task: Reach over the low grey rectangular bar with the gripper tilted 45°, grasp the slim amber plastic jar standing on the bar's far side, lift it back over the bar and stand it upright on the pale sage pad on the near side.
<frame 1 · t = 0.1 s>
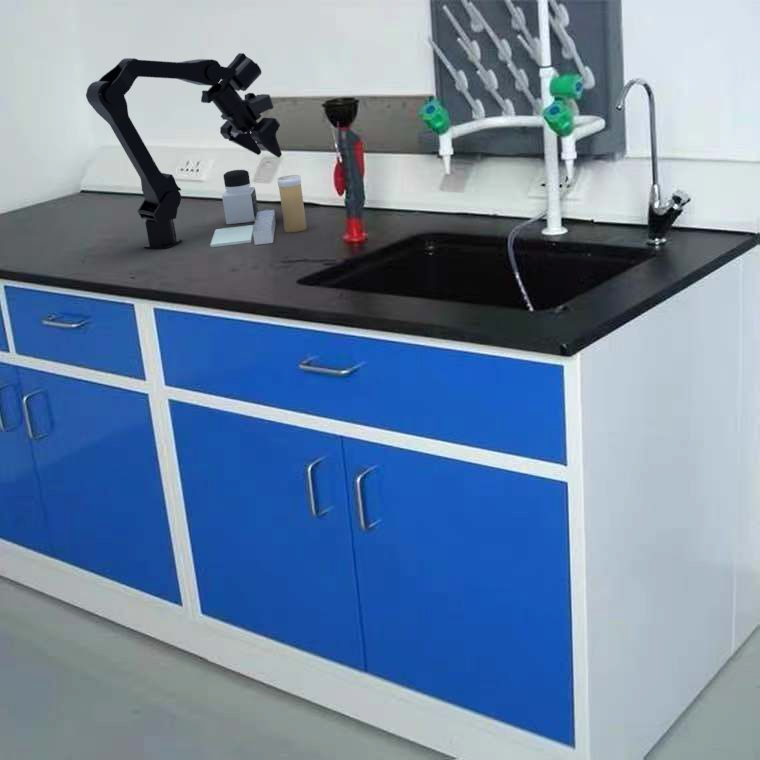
hand: (269, 154, 300), 15 cm above the countertop, tool tilted 35°, fingers open, 9 cm apart
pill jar: (295, 229, 289), on the countertop
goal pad: (233, 237, 289), on the countertop
medicine bottle: (242, 221, 306), on the countertop
grey rectangular bar: (265, 233, 289), on the countertop
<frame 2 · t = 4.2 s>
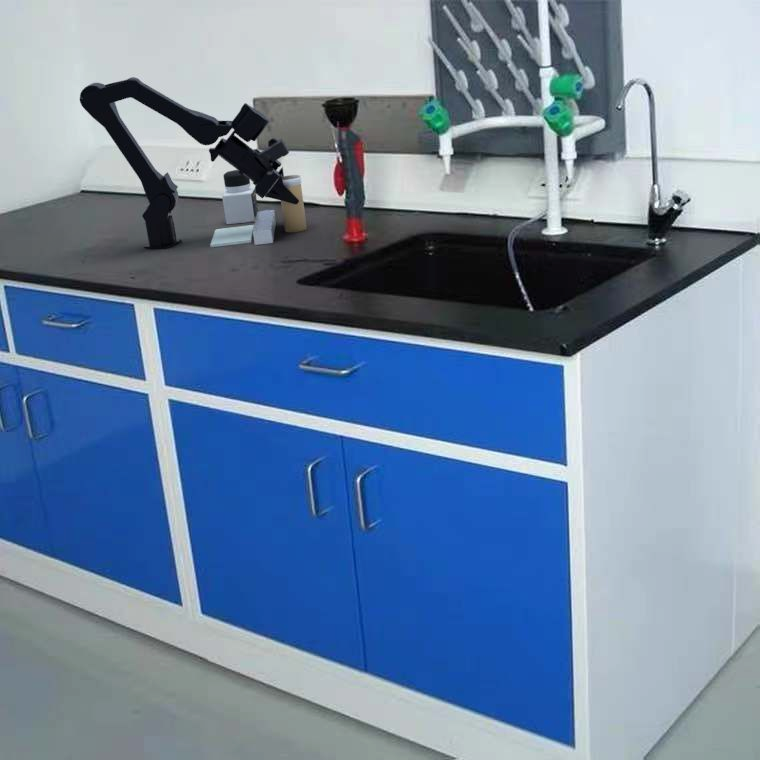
hand: (298, 200, 287), 7 cm above the countertop, tool tilted 45°, fingers closed on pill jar, 5 cm apart
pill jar: (295, 229, 289), on the countertop, touching gripper
everything else where it was.
when the fingers open (9 cm above the countertop, at t = 8.5 s): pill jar drops 1 cm, resting on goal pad.
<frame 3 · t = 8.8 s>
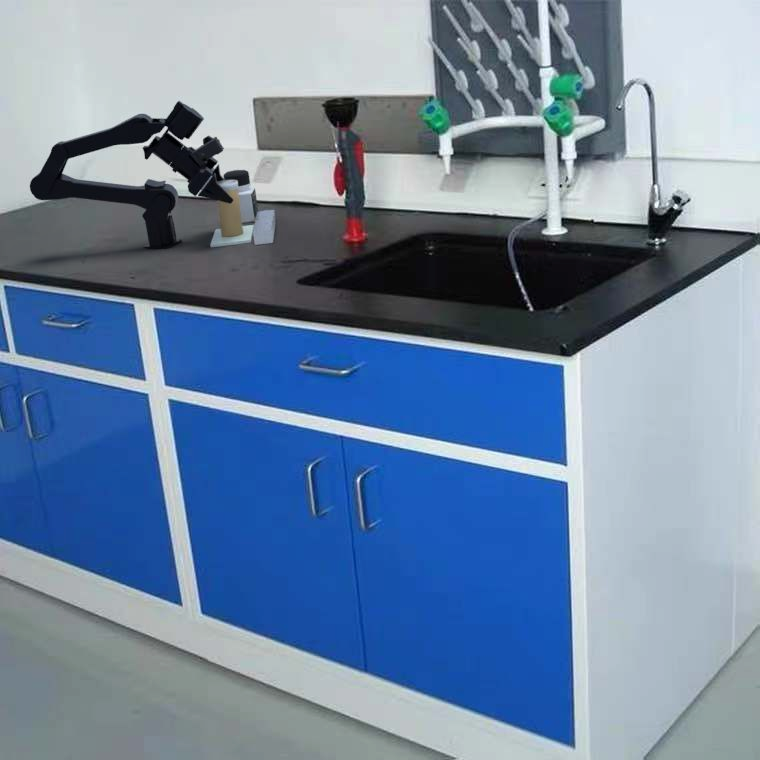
hand: (233, 198, 286), 9 cm above the countertop, tool tilted 45°, fingers open, 8 cm apart
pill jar: (232, 234, 289), point 1 cm above the countertop, touching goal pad
everything else where it was.
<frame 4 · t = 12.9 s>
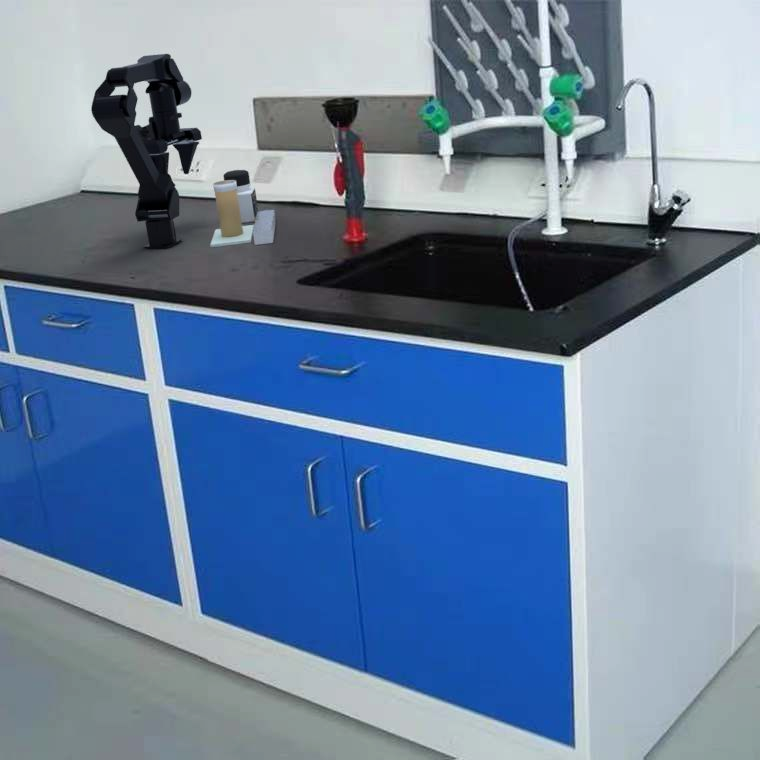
hand: (175, 178, 295), 13 cm above the countertop, tool pointing down, fingers open, 9 cm apart
nothing on the countertop moved.
at the end: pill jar inside the target area on the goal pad (0.0 cm from its centre), point 0.6 cm above the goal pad's base; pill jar tilted 0°; the gripper is holding nothing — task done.
